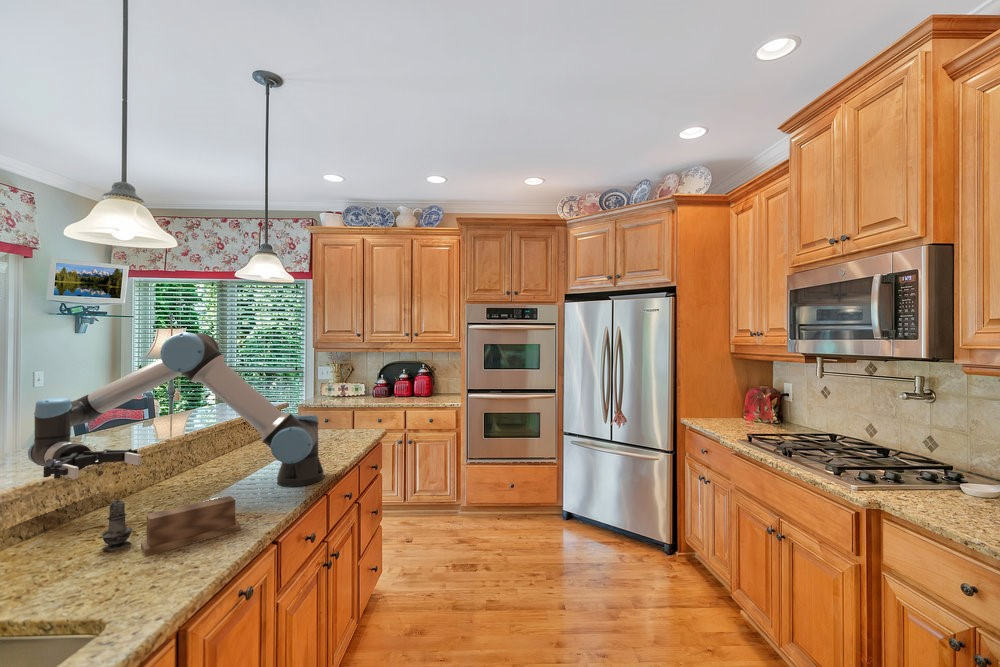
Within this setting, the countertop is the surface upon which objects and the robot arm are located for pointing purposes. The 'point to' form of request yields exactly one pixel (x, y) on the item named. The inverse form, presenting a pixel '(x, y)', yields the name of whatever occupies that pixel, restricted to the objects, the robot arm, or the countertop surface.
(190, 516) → the ridge
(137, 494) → the countertop surface
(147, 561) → the countertop surface
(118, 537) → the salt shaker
